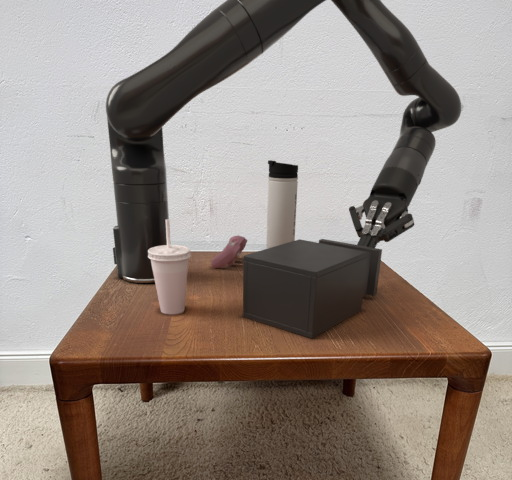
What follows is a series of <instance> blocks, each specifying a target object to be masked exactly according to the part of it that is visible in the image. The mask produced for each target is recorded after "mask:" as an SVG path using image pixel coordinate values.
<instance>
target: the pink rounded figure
mask: <svg viewBox="0 0 512 480" xmlns="http://www.w3.org/2000/svg"><path fill="white" fill-rule="evenodd" d="M247 243H248V239H246V237H244V236H241V235H239V234H238V235H232V236H231V237H230V238H229V240H228V243H227V244H226V245H225V247H223V249H222V251H220V252H219V253H218V254H216V255H215V256H213V258H212V259H211V262H210V265H211V267H212V268H214V269H220V268H224V267H225V266H227V265H228V266H230V267H232V266H233V265H234V263H236V261H237V260H240V258H241V256H242V252H243V251H244V249H246V247H247Z"/></svg>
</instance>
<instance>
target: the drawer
mask: <svg viewBox="0 0 512 480" xmlns="http://www.w3.org/2000/svg"><path fill="white" fill-rule="evenodd" d="M318 243H322V244H327V245H333V246H338V247H344V248H349V249H355V250H360V251H365V252H368V254H367V263H366V272H365V281H364V289H363V298H364V297H366V296H371V297H375V296H377V293H378V286H379V277H380V271H381V270H380V269H381V263H382V255H383V254H382V253H383V249H382V248H377V247H375V248H371V247H365V246H360V245H357V244H353V243H348V242H342V241H337V240H333V239H325V238H321V239H319V240H318Z"/></svg>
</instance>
